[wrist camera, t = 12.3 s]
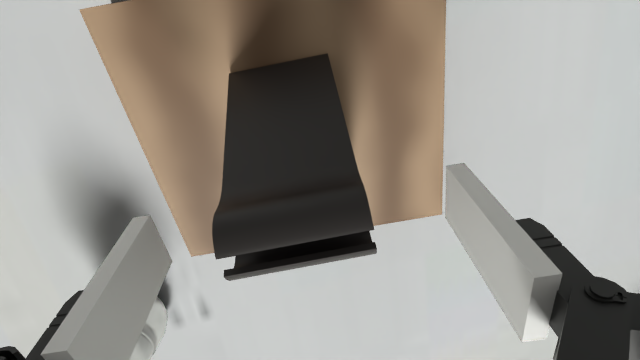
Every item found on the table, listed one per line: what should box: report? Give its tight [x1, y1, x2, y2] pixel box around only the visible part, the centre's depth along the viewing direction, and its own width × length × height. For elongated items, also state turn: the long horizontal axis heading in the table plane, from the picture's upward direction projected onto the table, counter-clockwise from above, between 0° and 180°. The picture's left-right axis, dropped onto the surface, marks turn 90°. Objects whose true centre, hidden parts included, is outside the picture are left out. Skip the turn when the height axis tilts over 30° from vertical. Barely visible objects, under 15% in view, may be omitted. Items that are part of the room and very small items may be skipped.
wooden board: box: [80, 0, 446, 257], centre depth 26 cm, size 20×18×4 cm
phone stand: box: [212, 53, 377, 281], centre depth 19 cm, size 9×6×12 cm, turn 10°
